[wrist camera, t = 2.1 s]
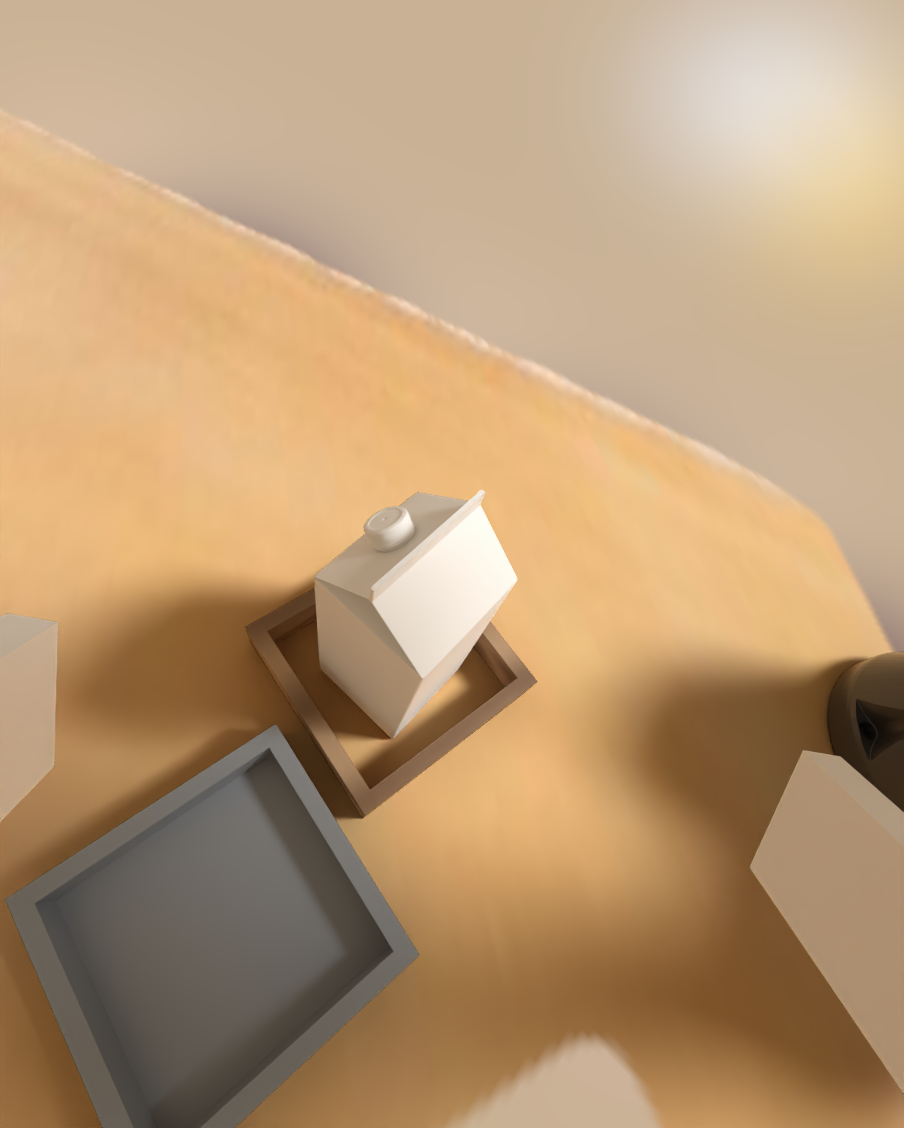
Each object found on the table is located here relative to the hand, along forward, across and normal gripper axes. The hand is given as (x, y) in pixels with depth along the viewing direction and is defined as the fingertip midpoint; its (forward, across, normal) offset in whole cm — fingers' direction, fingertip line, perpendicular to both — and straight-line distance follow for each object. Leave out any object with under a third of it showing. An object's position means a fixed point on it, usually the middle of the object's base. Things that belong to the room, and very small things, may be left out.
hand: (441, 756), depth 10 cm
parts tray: (+17, -6, -25) cm, 31 cm away
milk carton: (+28, 0, -13) cm, 31 cm away
